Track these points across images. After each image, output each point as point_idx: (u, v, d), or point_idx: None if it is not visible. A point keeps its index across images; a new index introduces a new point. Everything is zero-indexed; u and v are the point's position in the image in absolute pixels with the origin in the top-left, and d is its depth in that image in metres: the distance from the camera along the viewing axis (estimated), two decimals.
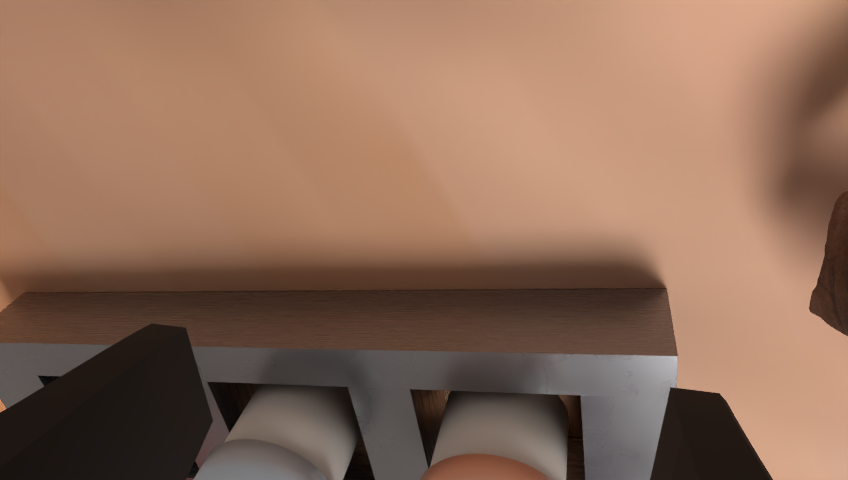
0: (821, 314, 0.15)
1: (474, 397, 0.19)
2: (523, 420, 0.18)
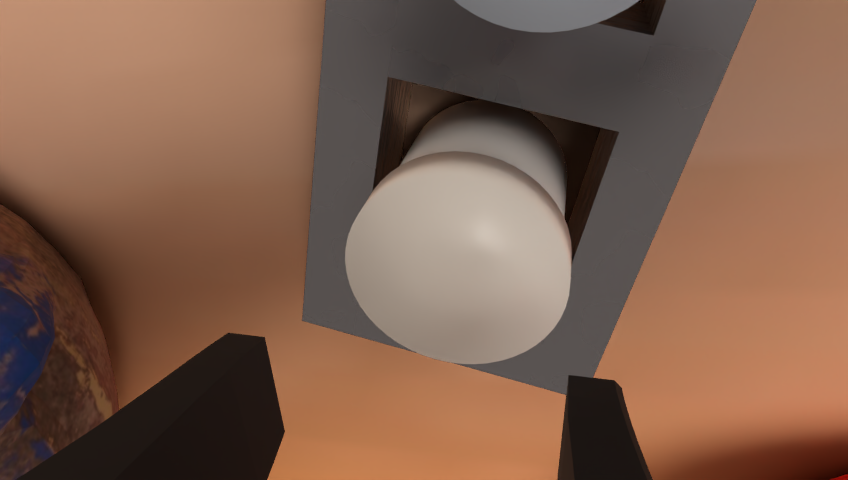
0: None
1: None
2: None
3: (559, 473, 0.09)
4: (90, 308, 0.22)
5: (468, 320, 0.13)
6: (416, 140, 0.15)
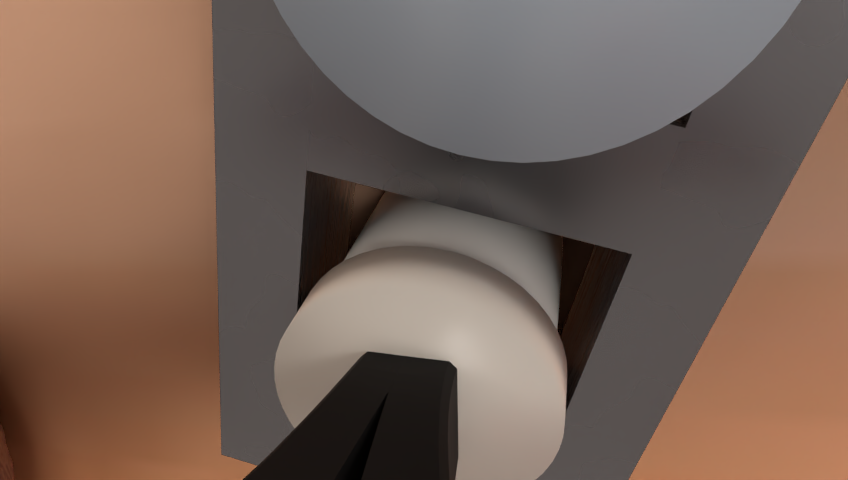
0: None
1: None
2: None
3: None
4: None
5: None
6: (375, 210, 0.12)
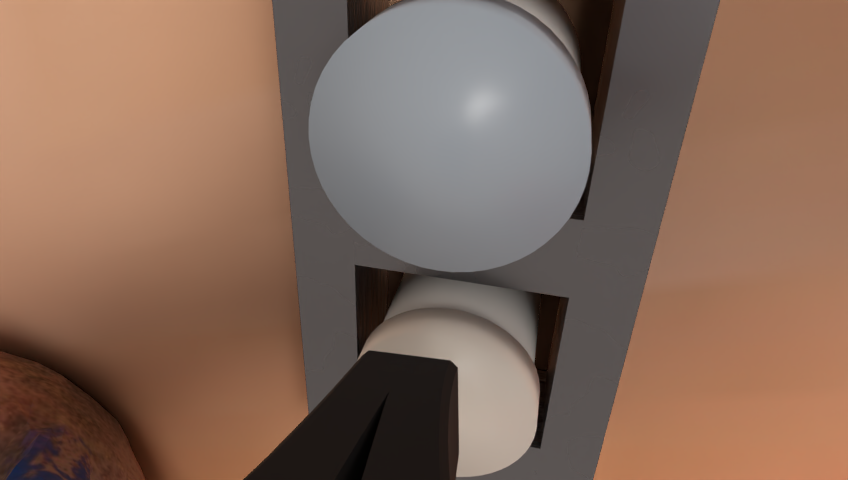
0: None
1: None
2: None
3: None
4: (127, 450, 0.24)
5: None
6: (403, 279, 0.17)
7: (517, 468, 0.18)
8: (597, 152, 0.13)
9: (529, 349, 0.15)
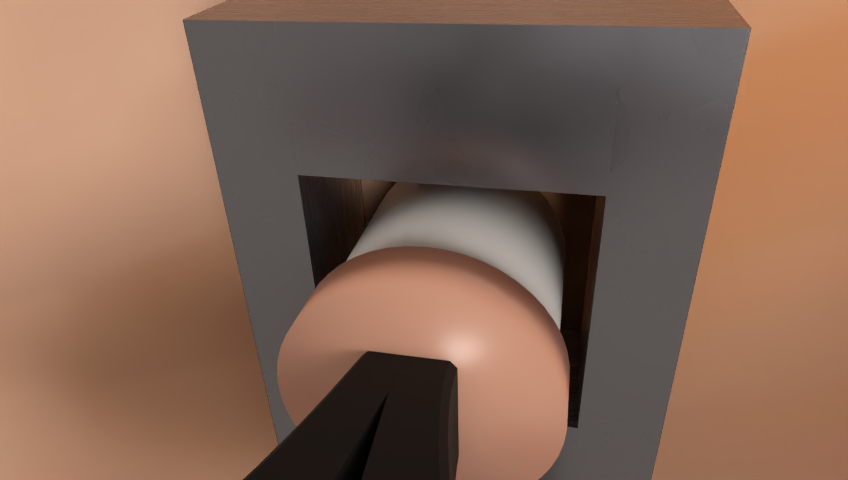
0: None
1: None
2: None
3: None
4: None
5: None
6: None
7: None
8: None
9: None
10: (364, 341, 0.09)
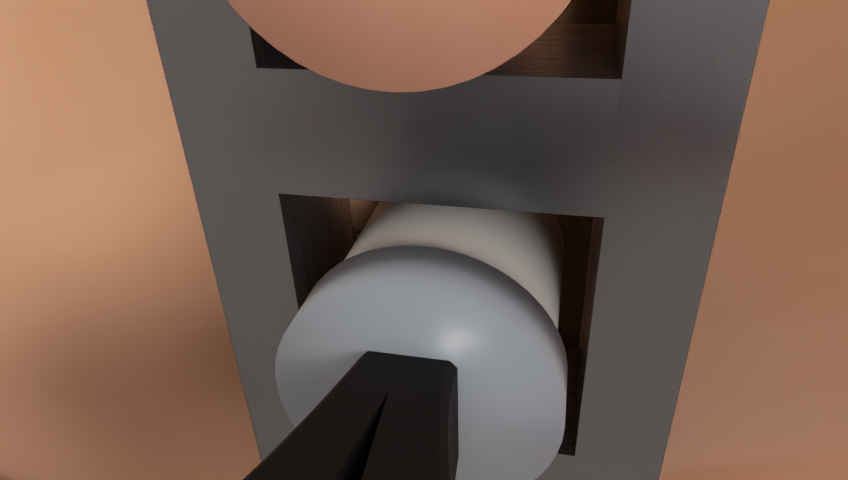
0: None
1: None
2: None
3: None
4: None
5: None
6: None
7: None
8: (583, 394, 0.11)
9: None
10: None
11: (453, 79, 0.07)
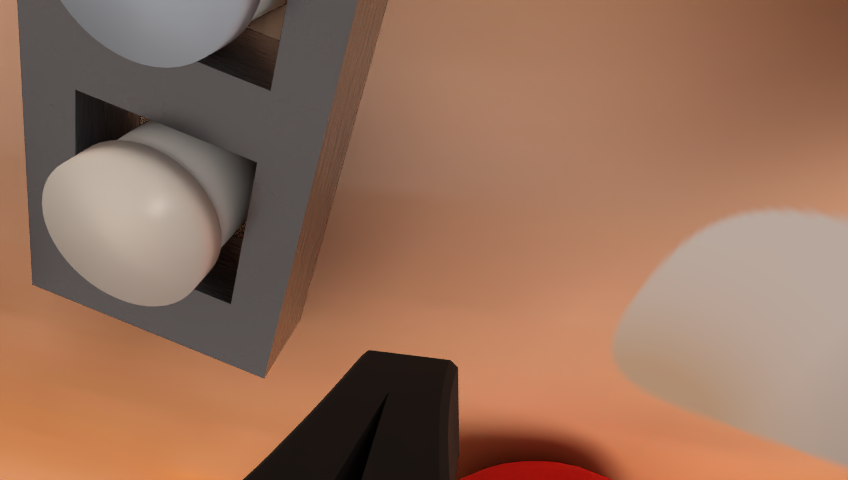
0: None
1: None
2: None
3: None
4: None
5: (137, 271, 0.17)
6: None
7: (211, 320, 0.20)
8: (283, 29, 0.14)
9: (223, 205, 0.17)
10: None
11: None
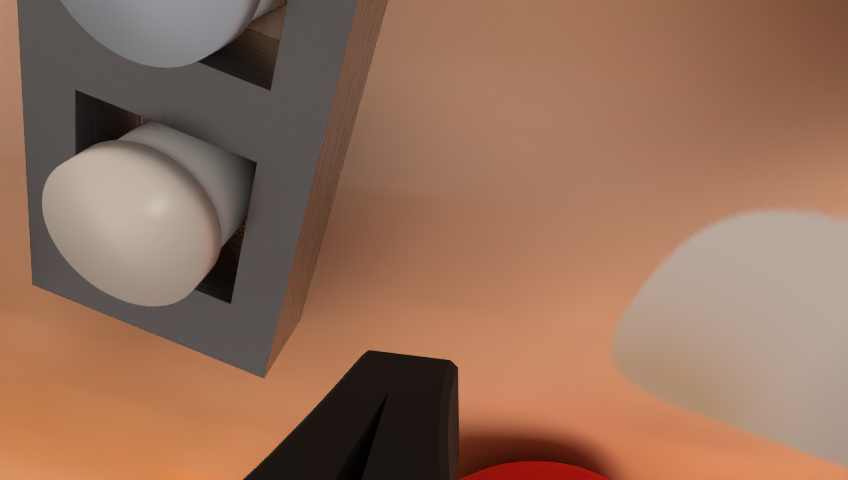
0: None
1: None
2: None
3: None
4: None
5: (137, 271, 0.17)
6: None
7: (211, 320, 0.20)
8: (283, 29, 0.14)
9: (223, 205, 0.17)
10: None
11: None
